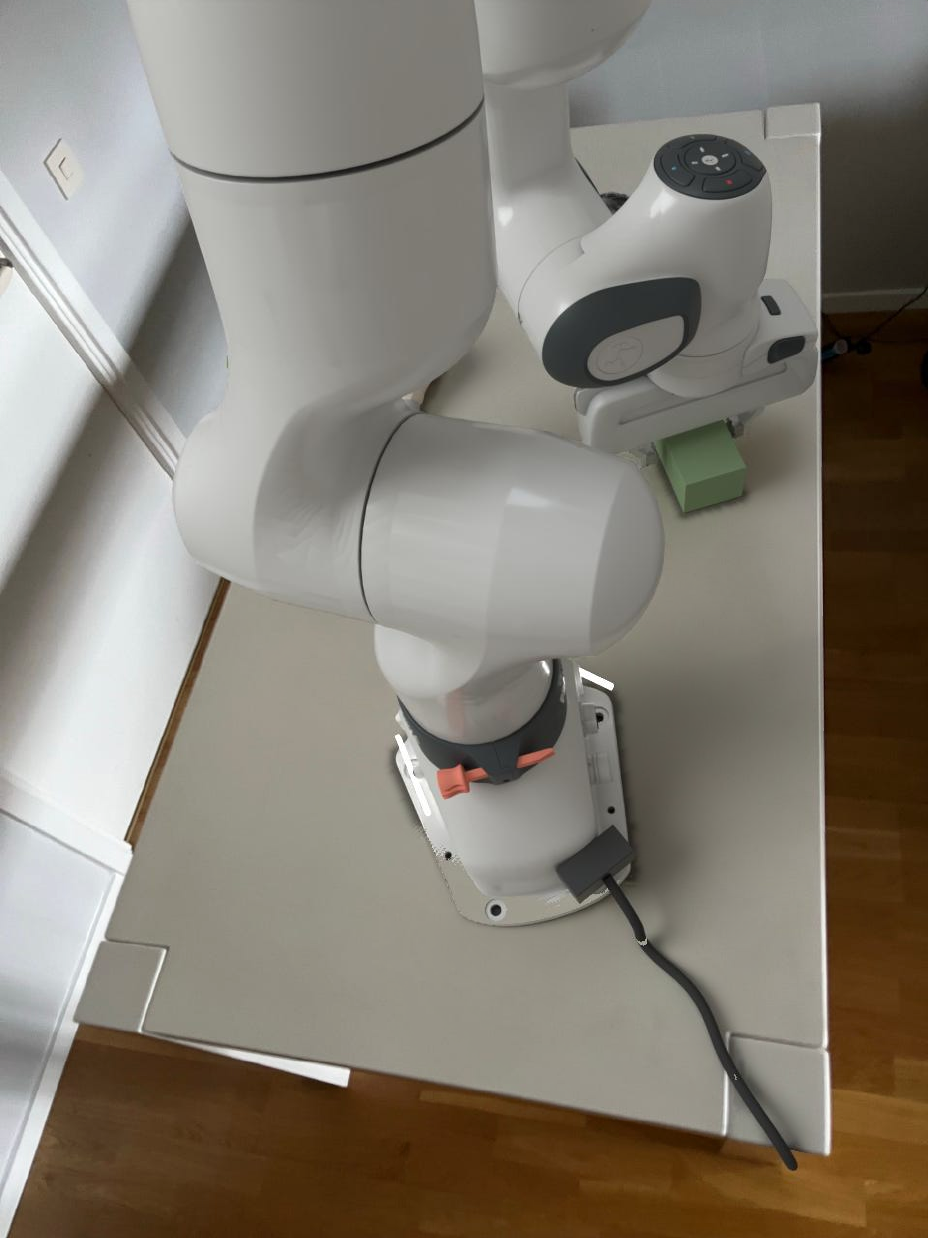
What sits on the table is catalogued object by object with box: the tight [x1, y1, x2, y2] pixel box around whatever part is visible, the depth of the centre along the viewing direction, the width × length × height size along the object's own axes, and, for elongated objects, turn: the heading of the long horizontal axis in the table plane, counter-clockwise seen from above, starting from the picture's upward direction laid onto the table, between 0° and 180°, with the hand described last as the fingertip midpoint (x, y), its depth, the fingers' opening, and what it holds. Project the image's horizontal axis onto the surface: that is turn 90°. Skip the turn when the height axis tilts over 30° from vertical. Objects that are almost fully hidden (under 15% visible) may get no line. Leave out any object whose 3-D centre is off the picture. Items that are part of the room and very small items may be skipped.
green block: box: [652, 419, 747, 514], centre depth 81 cm, size 10×6×4 cm, turn 13°
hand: (690, 446), depth 81 cm, fingers open, 7 cm apart
